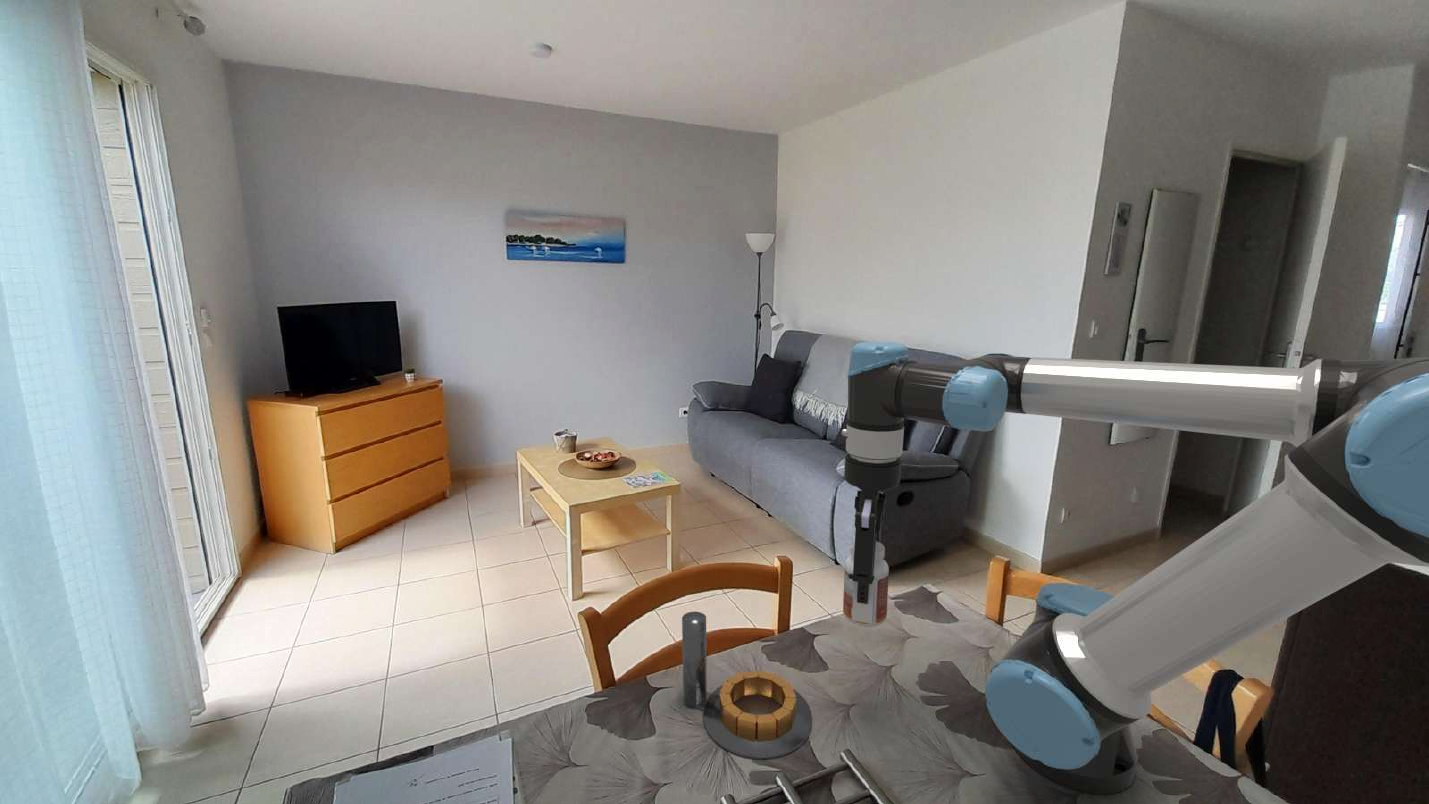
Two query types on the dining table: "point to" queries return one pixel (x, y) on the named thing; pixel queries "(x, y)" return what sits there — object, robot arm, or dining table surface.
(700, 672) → the round base with peg
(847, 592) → the pill bottle
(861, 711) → the dining table surface
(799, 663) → the dining table surface
